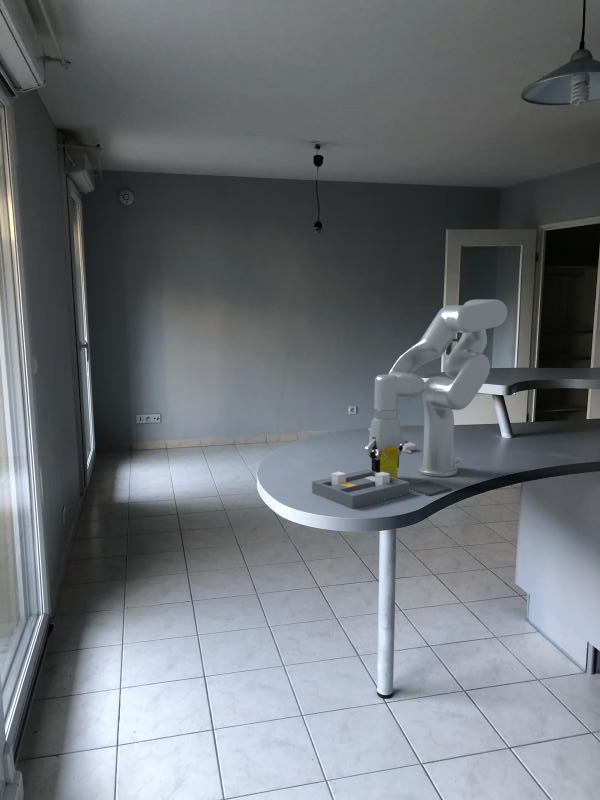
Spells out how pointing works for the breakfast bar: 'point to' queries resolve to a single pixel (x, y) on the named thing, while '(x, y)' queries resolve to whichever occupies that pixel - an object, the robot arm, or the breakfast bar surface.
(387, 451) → the supplement box
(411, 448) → the mobile phone
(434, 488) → the mat
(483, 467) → the breakfast bar surface
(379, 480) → the switch
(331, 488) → the grey compartment tray
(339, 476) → the switch
